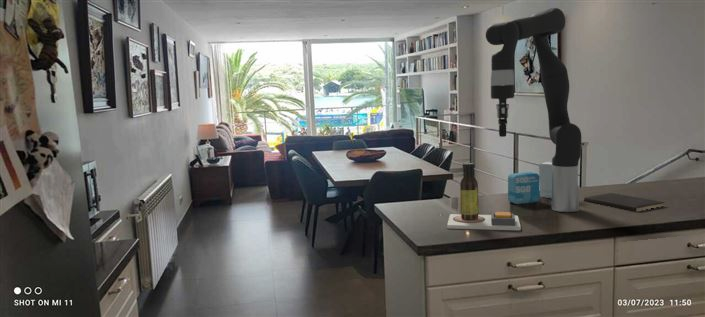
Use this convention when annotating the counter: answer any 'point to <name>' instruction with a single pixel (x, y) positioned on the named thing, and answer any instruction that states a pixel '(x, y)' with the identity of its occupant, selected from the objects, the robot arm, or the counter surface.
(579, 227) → the counter surface
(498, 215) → the button
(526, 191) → the data package
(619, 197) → the hardcover book
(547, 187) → the skincare box
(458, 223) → the white control panel
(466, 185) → the sauce bottle
